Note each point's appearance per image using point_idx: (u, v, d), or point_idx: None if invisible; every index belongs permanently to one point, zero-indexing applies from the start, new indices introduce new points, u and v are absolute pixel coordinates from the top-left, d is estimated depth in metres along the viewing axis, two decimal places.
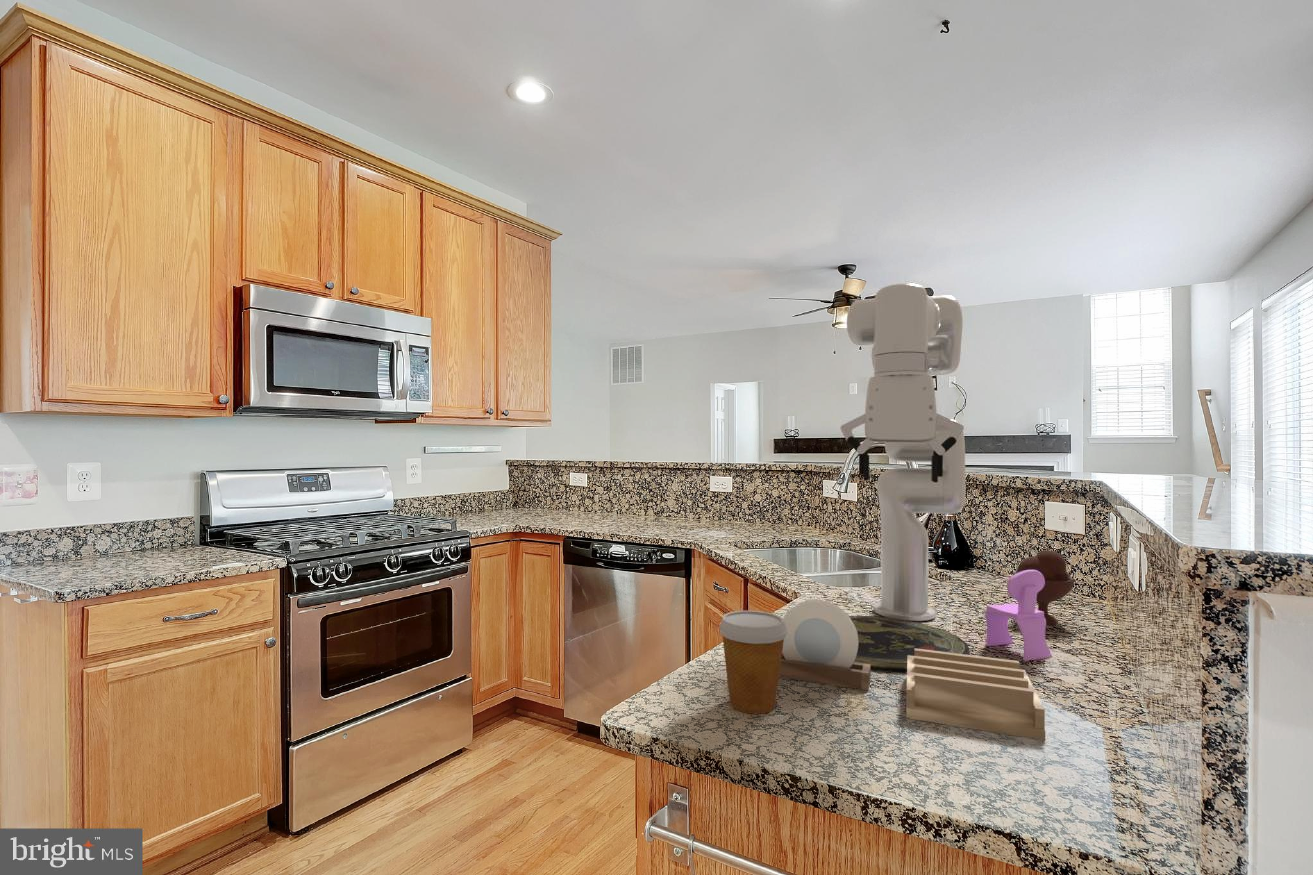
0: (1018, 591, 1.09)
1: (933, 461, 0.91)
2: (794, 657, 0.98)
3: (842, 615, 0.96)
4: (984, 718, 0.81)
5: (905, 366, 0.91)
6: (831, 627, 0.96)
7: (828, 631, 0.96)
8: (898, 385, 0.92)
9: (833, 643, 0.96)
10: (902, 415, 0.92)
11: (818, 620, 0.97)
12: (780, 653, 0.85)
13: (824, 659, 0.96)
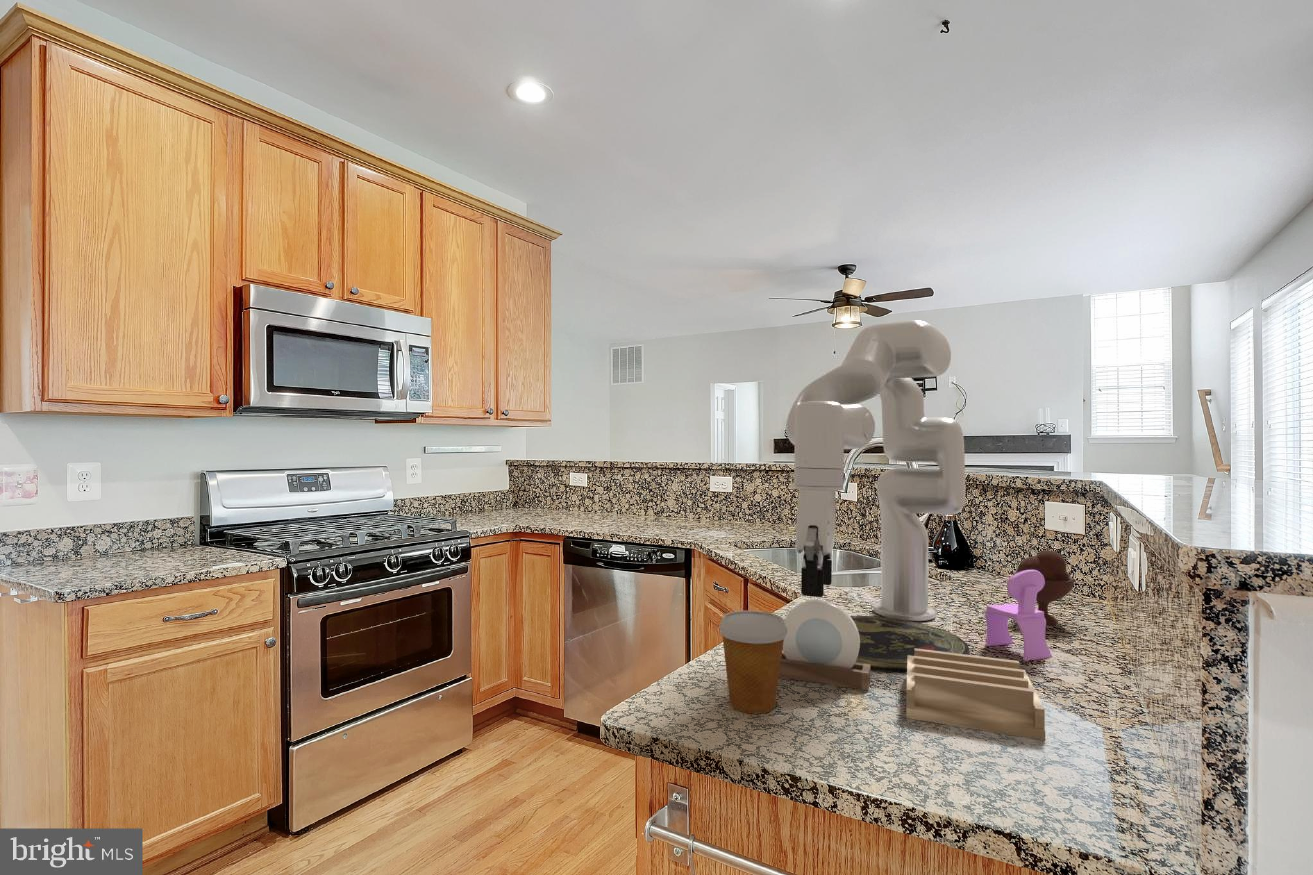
0: (1018, 591, 1.09)
1: (830, 566, 1.01)
2: (795, 656, 0.98)
3: (845, 616, 0.95)
4: (984, 718, 0.81)
5: None
6: (833, 628, 0.96)
7: (830, 632, 0.96)
8: (834, 499, 0.97)
9: (834, 643, 0.96)
10: (833, 527, 0.97)
11: (820, 620, 0.97)
12: (780, 653, 0.85)
13: (825, 659, 0.96)
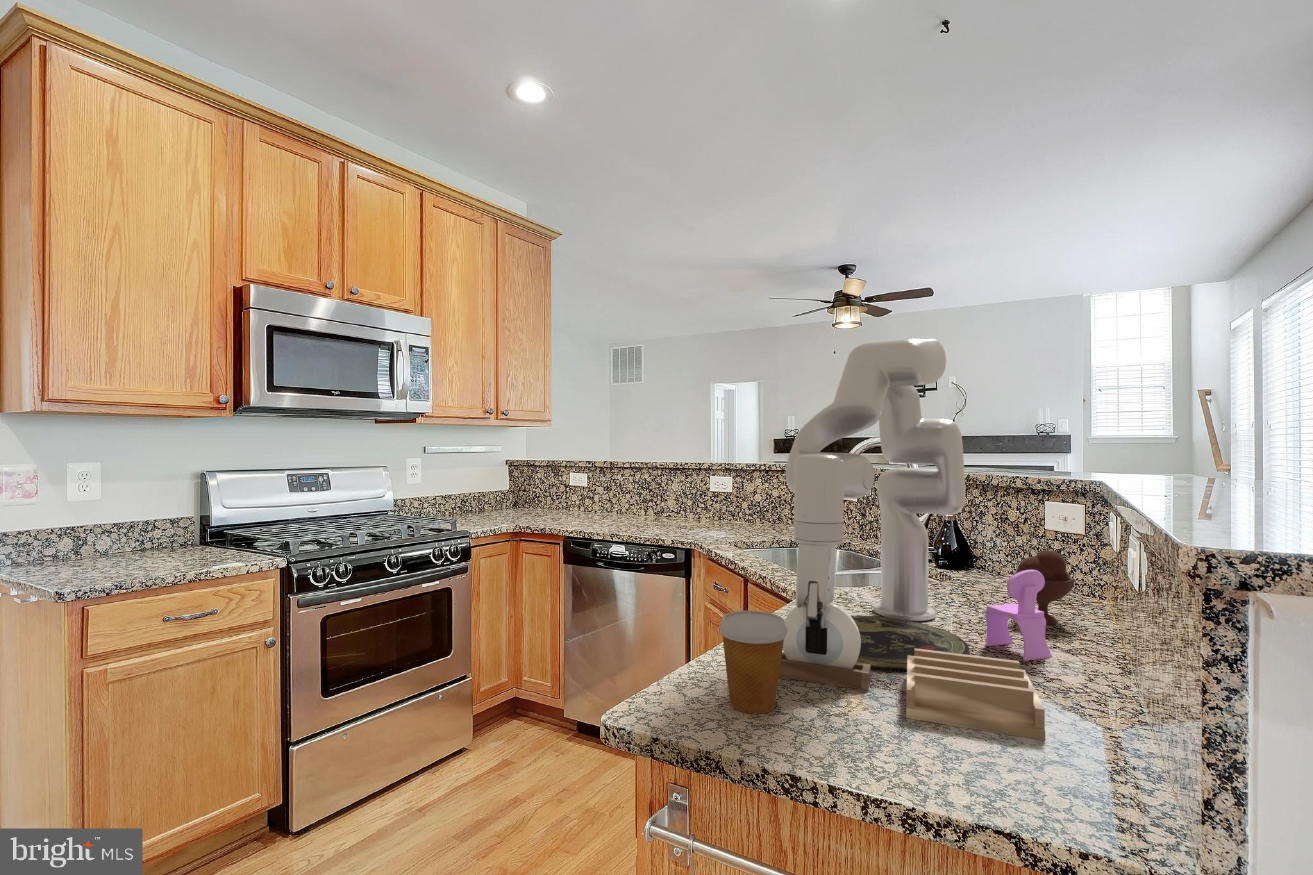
0: (1018, 591, 1.09)
1: None
2: (794, 654, 0.98)
3: (847, 618, 0.95)
4: (984, 718, 0.81)
5: None
6: (835, 629, 0.96)
7: (831, 633, 0.96)
8: (834, 552, 0.97)
9: (835, 645, 0.96)
10: (834, 580, 0.97)
11: None
12: (780, 653, 0.85)
13: (824, 660, 0.96)
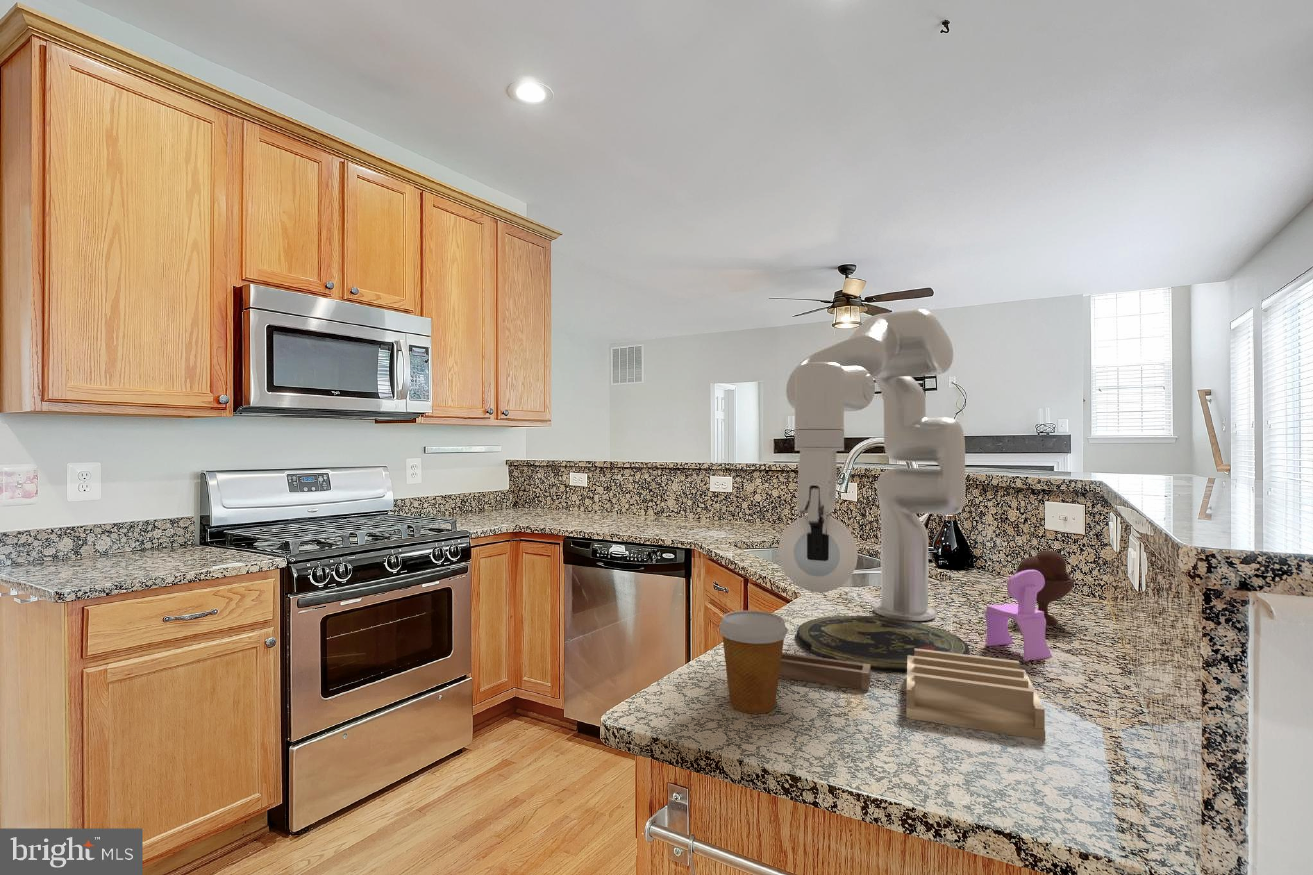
0: (1018, 591, 1.09)
1: None
2: (789, 563, 0.99)
3: (848, 535, 0.96)
4: (984, 718, 0.81)
5: None
6: (834, 544, 0.96)
7: (830, 547, 0.97)
8: (835, 460, 0.97)
9: (832, 559, 0.96)
10: (835, 488, 0.97)
11: None
12: (780, 653, 0.85)
13: (818, 572, 0.97)
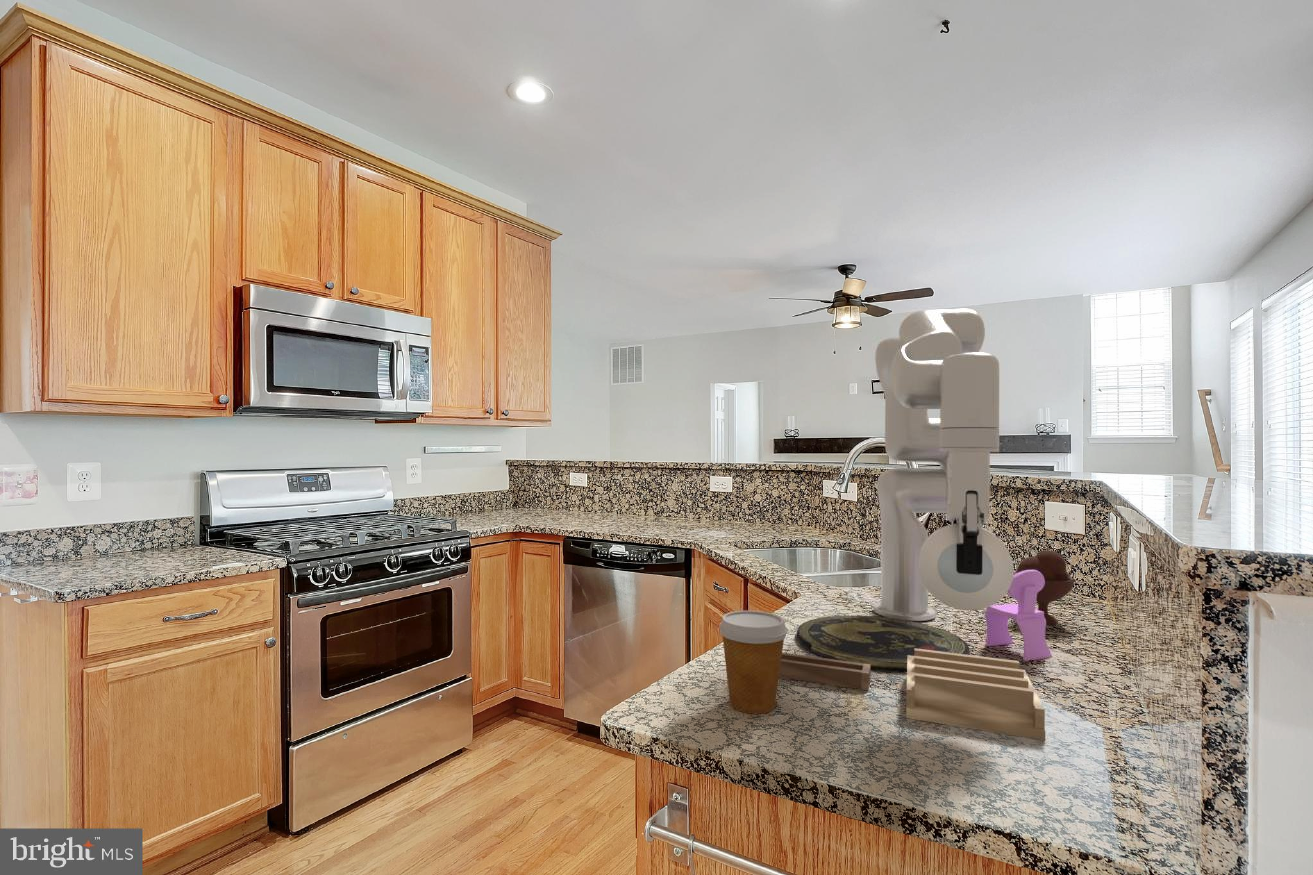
0: (1018, 591, 1.09)
1: None
2: (929, 564, 0.89)
3: (1011, 565, 0.86)
4: (984, 718, 0.81)
5: None
6: (990, 567, 0.86)
7: (984, 568, 0.87)
8: None
9: (979, 580, 0.87)
10: None
11: (983, 552, 0.87)
12: (780, 653, 0.85)
13: (957, 586, 0.88)
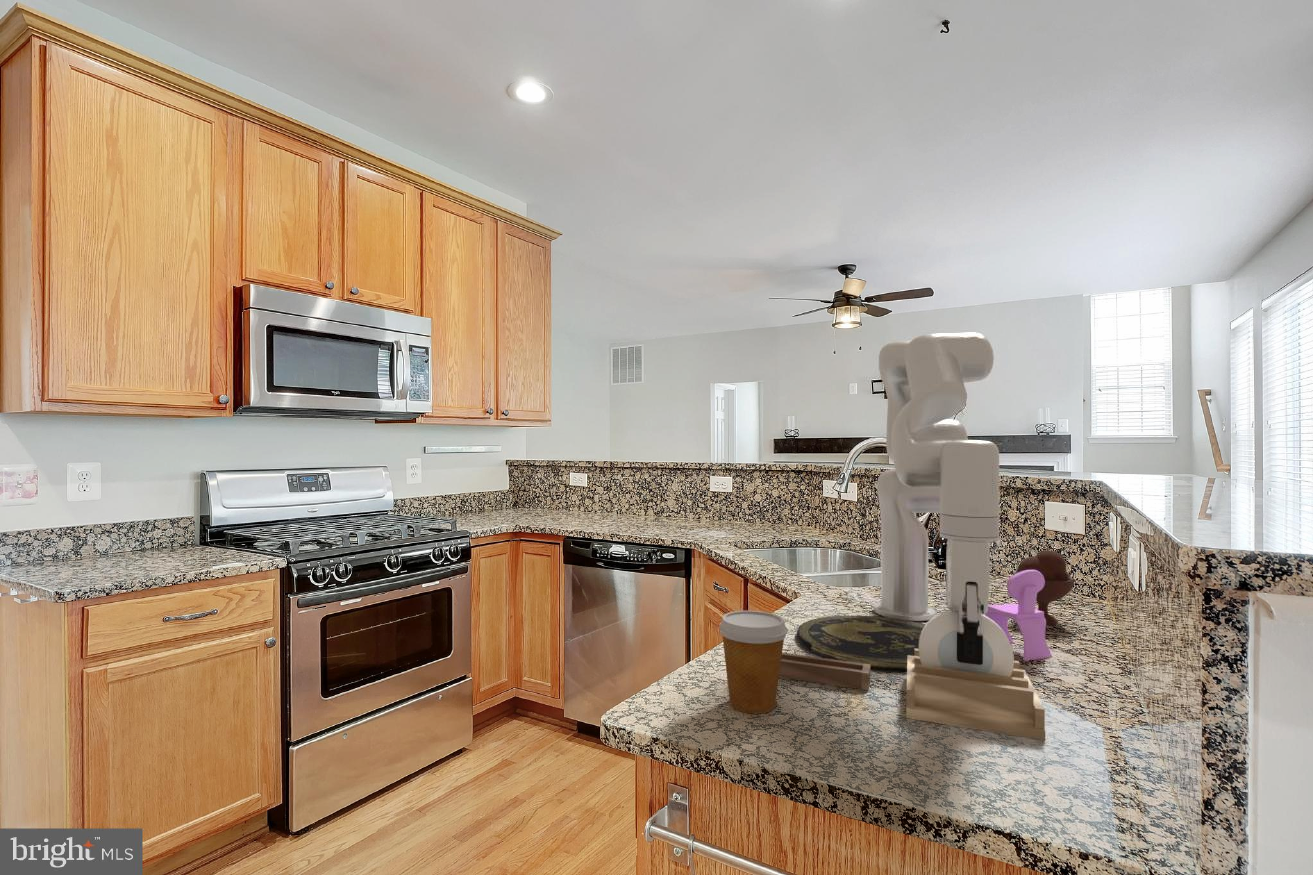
0: (1018, 591, 1.09)
1: None
2: (935, 632, 0.89)
3: None
4: (984, 718, 0.81)
5: None
6: (988, 668, 0.86)
7: (982, 665, 0.86)
8: None
9: None
10: None
11: (990, 653, 0.86)
12: (780, 653, 0.85)
13: (947, 665, 0.88)
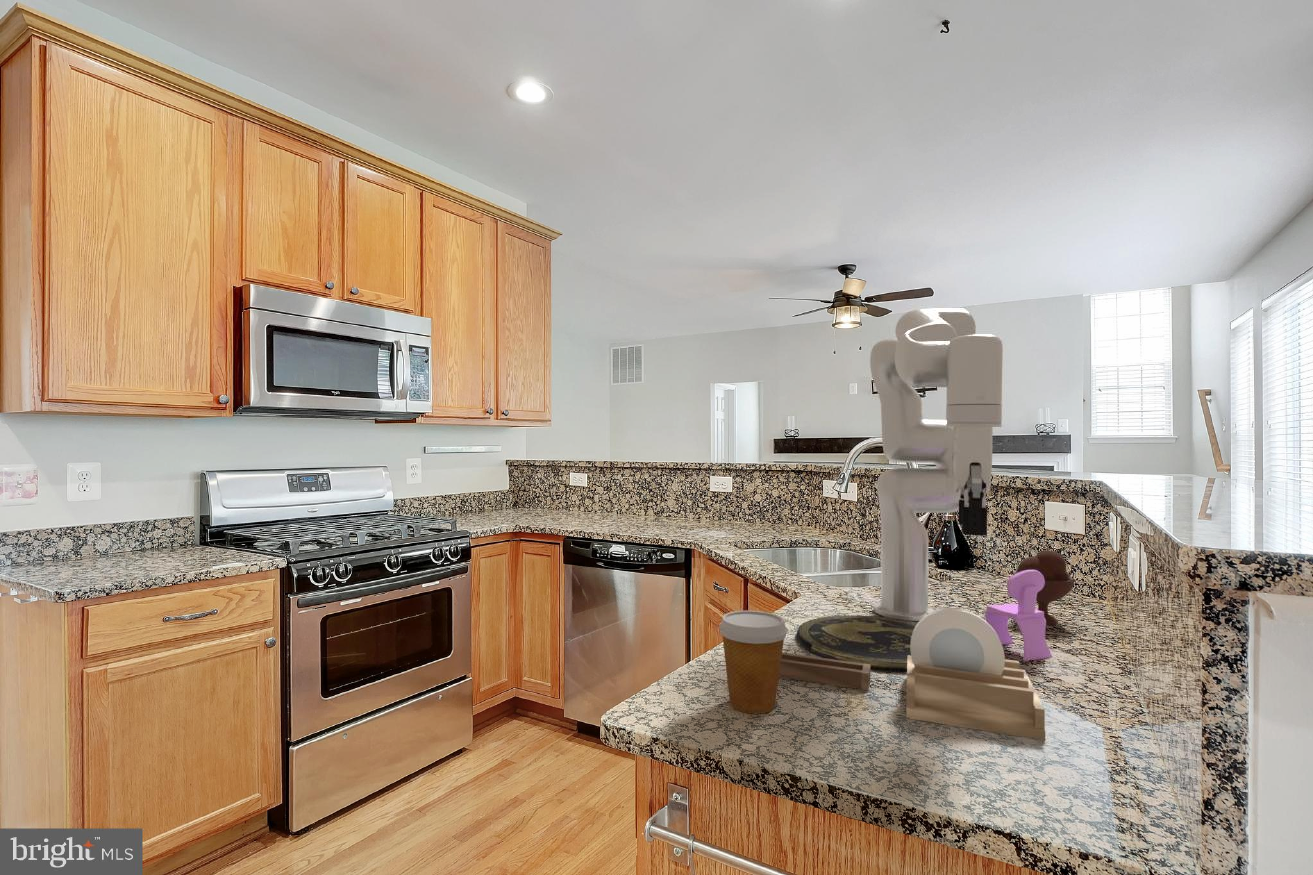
0: (1018, 591, 1.09)
1: None
2: (923, 636, 0.90)
3: (1000, 669, 0.86)
4: (984, 718, 0.81)
5: None
6: (981, 663, 0.86)
7: (974, 662, 0.87)
8: None
9: (965, 670, 0.87)
10: None
11: (980, 648, 0.87)
12: (780, 653, 0.85)
13: (941, 667, 0.88)
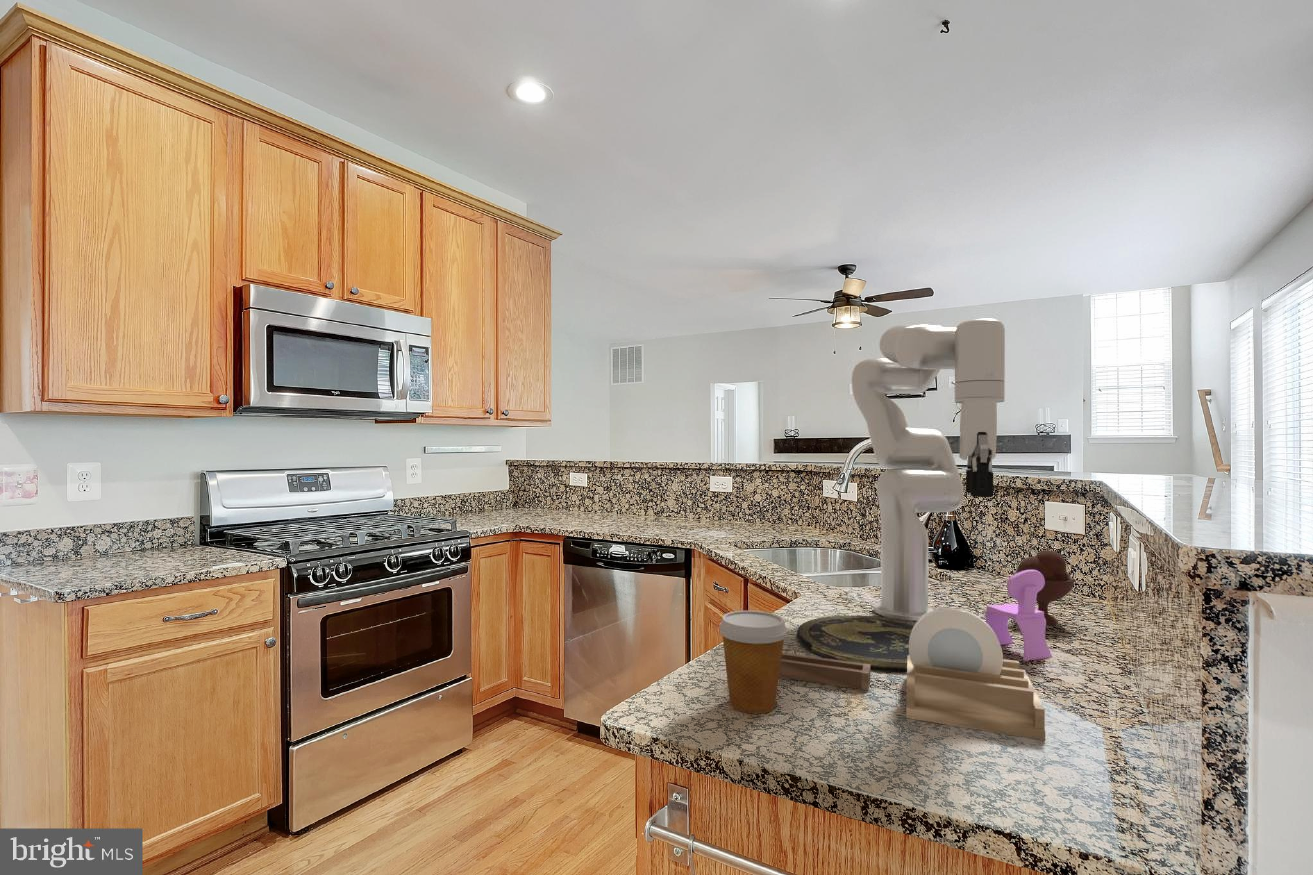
0: (1018, 591, 1.09)
1: None
2: (921, 637, 0.90)
3: (999, 668, 0.86)
4: (984, 718, 0.81)
5: None
6: (979, 662, 0.87)
7: (973, 661, 0.87)
8: None
9: (964, 670, 0.87)
10: None
11: (978, 647, 0.87)
12: (780, 653, 0.85)
13: None
